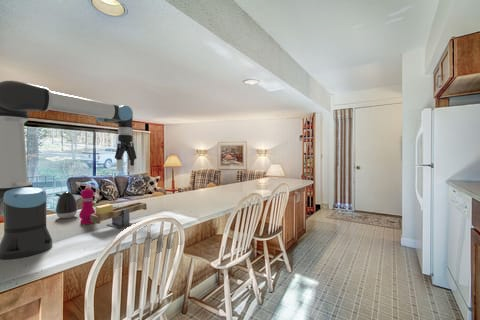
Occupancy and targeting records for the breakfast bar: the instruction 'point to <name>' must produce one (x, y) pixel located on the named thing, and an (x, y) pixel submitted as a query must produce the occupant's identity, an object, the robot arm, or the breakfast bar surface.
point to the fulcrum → (121, 220)
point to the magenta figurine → (86, 205)
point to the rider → (104, 209)
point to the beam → (117, 212)
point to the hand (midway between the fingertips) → (125, 170)
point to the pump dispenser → (66, 205)
